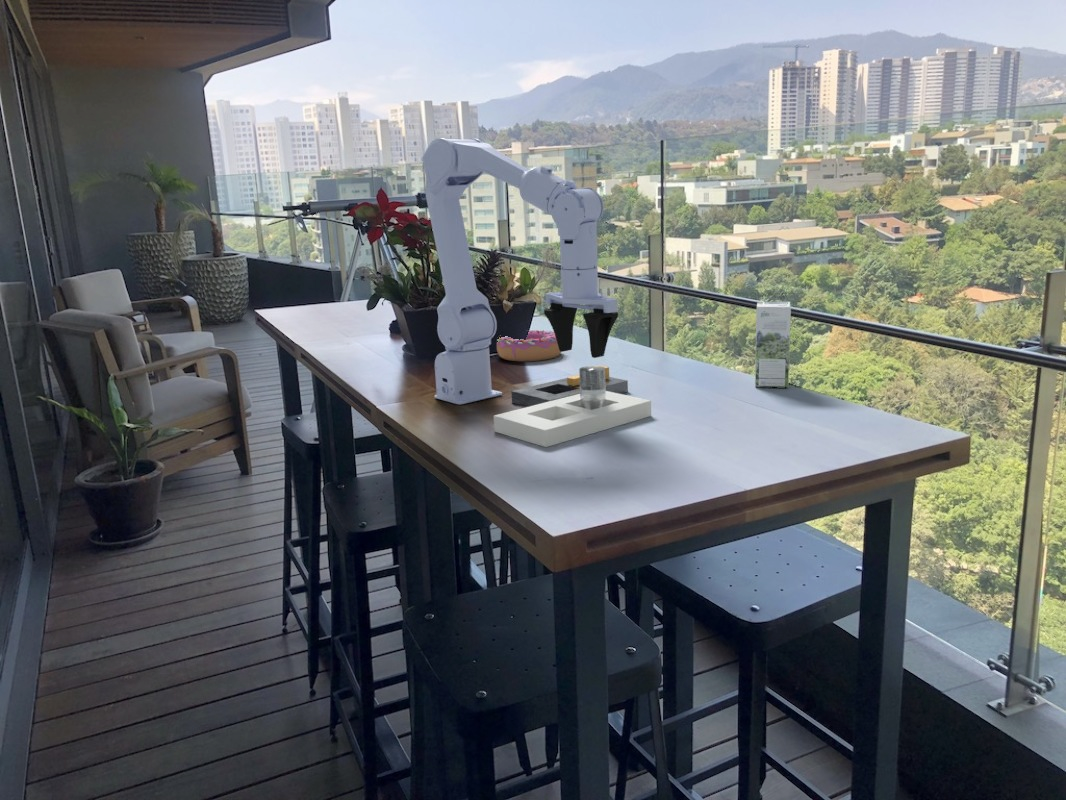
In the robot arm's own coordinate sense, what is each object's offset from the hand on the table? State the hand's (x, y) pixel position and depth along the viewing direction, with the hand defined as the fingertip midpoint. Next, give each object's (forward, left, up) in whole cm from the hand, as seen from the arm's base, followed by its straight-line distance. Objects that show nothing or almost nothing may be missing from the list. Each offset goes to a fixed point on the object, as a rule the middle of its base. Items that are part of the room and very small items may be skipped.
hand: (581, 353), depth 139 cm
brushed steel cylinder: (-1, -4, -10) cm, 11 cm away
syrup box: (+34, -12, -10) cm, 38 cm away
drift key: (+10, +9, -8) cm, 15 cm away
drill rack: (-6, -4, -10) cm, 12 cm away
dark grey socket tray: (+6, +9, -10) cm, 14 cm away
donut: (+25, +43, -10) cm, 51 cm away
